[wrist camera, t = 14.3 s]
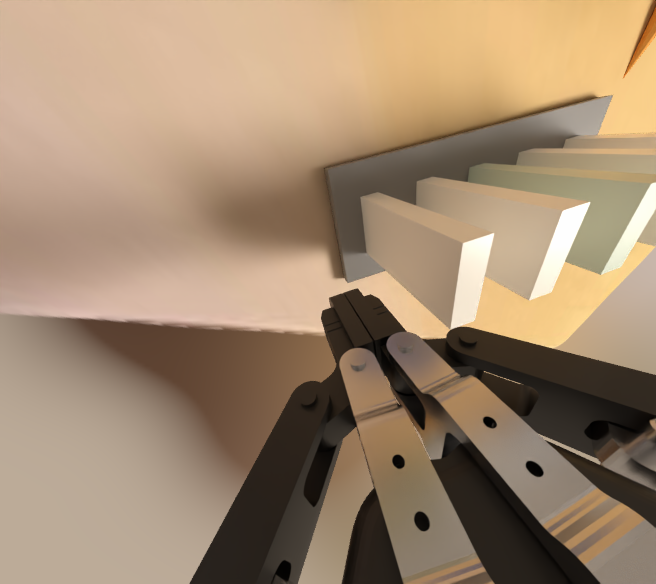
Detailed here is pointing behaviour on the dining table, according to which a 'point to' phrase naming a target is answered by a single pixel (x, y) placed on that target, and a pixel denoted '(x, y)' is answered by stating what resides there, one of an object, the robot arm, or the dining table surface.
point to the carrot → (644, 40)
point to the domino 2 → (511, 229)
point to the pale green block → (602, 214)
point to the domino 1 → (428, 255)
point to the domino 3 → (612, 141)
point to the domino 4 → (598, 167)
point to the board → (443, 168)
